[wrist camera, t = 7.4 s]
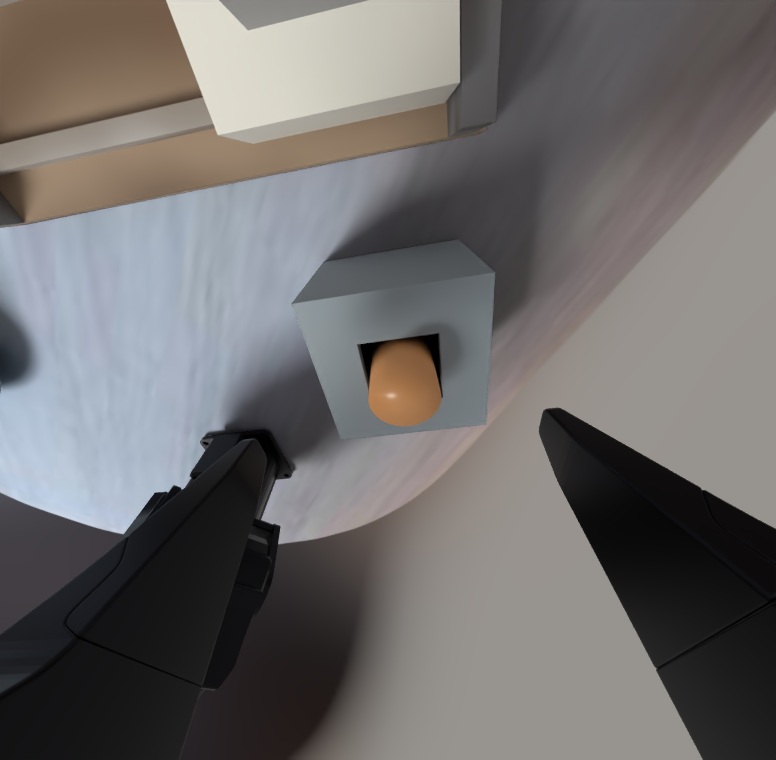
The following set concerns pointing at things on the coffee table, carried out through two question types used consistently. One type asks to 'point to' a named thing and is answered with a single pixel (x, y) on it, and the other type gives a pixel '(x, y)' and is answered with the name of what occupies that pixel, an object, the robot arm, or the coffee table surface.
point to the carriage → (317, 60)
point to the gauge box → (401, 329)
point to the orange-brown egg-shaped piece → (403, 382)
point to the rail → (171, 110)
